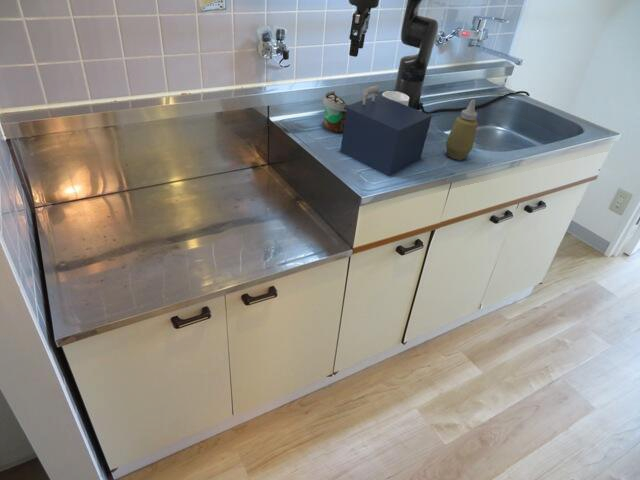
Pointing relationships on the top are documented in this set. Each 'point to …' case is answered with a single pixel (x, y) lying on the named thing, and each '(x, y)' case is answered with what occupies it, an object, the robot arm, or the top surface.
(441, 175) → the top surface
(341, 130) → the food container
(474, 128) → the squeeze bottle
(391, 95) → the cup
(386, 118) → the tub lid
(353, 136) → the dish tub
